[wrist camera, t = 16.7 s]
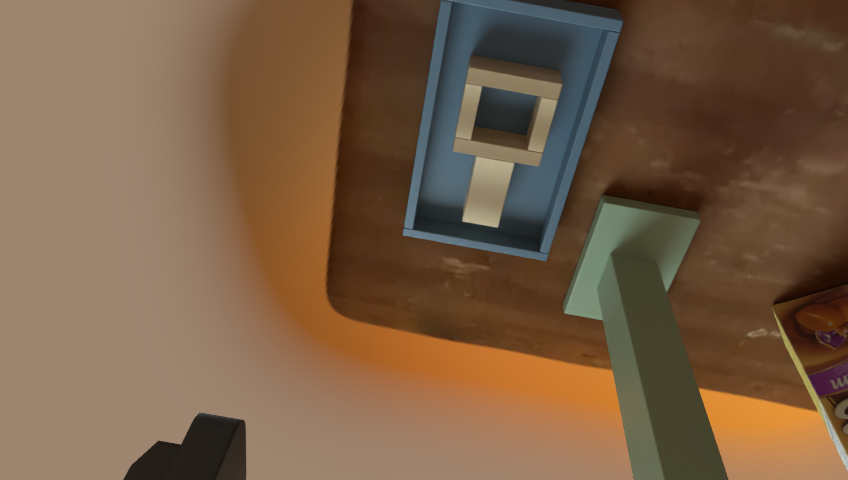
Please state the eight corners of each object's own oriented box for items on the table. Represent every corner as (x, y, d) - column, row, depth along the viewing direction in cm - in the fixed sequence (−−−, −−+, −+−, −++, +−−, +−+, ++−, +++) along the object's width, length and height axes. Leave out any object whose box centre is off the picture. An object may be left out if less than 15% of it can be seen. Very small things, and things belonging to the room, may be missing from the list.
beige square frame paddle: (470, 54, 37) (468, 66, 35) (560, 70, 37) (562, 83, 35) (441, 200, 42) (439, 217, 40) (519, 214, 42) (520, 232, 40)
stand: (601, 194, 41) (790, 943, 15) (697, 211, 41) (1059, 989, 15) (562, 304, 46) (649, 1008, 20) (647, 319, 46) (848, 1042, 20)
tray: (445, -23, 35) (442, -13, 33) (618, 9, 35) (624, 20, 33) (406, 218, 44) (402, 235, 42) (544, 243, 44) (546, 261, 42)
